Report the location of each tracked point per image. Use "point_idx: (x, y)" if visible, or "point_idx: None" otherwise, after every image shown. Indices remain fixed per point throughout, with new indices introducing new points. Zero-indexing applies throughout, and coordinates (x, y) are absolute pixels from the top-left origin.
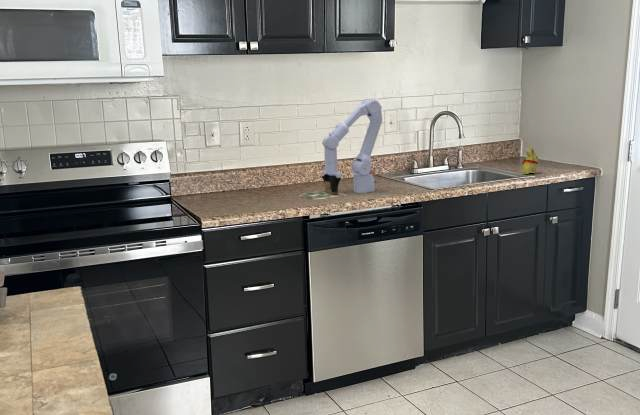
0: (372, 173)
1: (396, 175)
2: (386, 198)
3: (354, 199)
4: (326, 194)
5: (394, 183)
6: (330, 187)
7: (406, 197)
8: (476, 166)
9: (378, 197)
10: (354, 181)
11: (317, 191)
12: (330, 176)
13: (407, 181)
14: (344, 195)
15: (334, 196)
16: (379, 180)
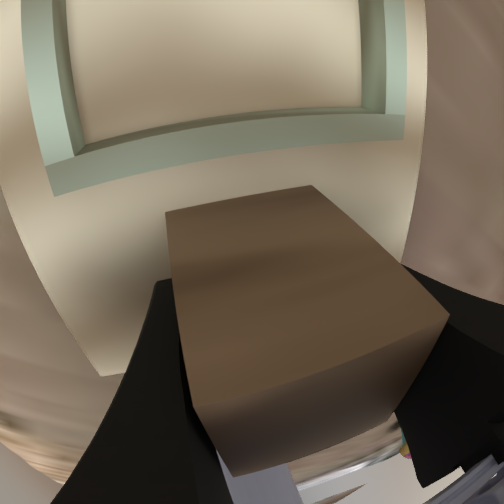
0: (405, 454)
1: None
2: (38, 456)
3: (5, 367)
4: (37, 132)
5: (331, 465)
6: (178, 310)
7: (57, 481)
8: (344, 492)
9: (66, 451)
10: (240, 497)
11: (399, 103)
12: (441, 454)
13: (327, 475)
14: (93, 352)
15: (56, 246)
16: (399, 432)
